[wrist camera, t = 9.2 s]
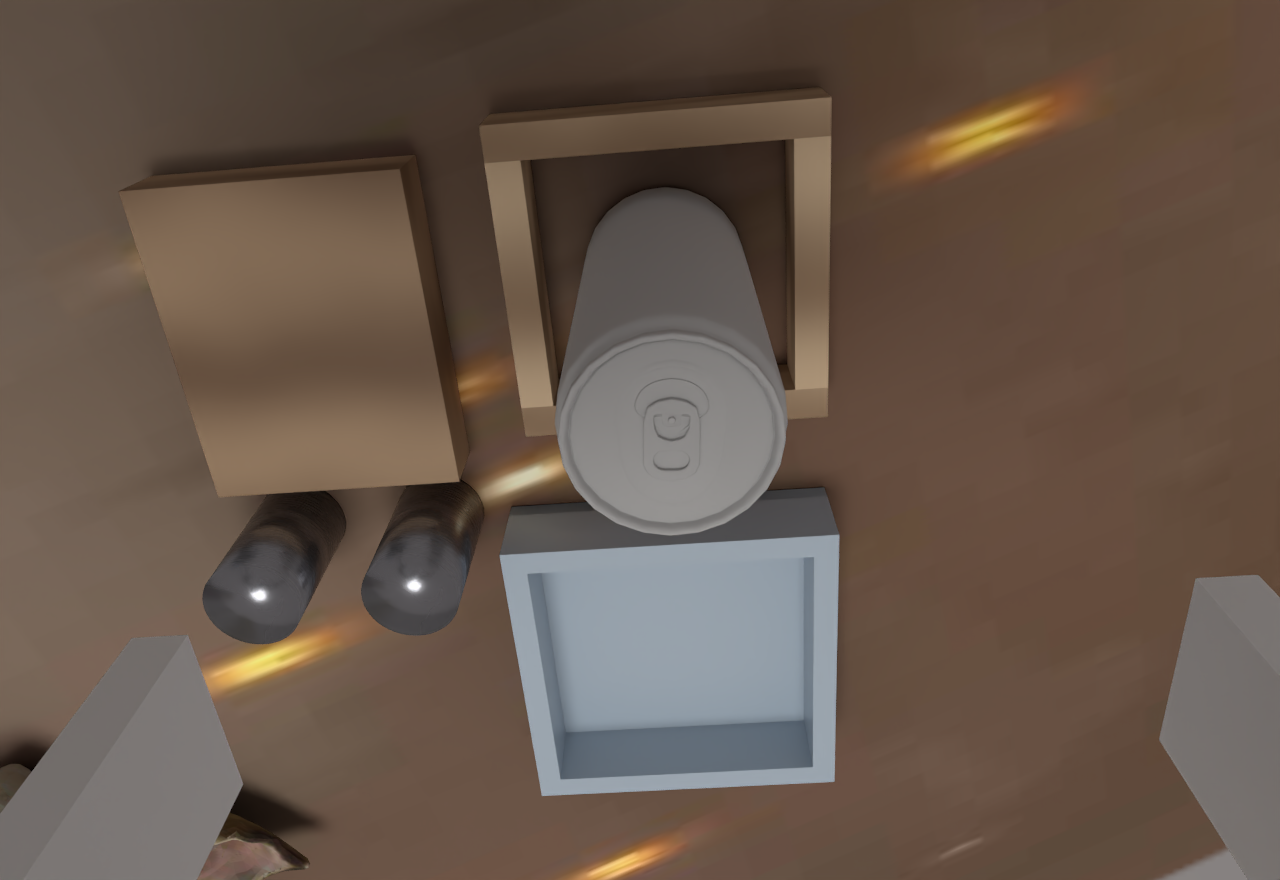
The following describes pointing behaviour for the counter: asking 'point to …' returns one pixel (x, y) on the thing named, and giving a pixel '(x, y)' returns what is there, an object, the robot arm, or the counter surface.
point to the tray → (677, 646)
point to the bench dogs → (305, 543)
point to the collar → (654, 128)
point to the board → (305, 323)
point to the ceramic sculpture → (235, 853)
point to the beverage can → (669, 371)
